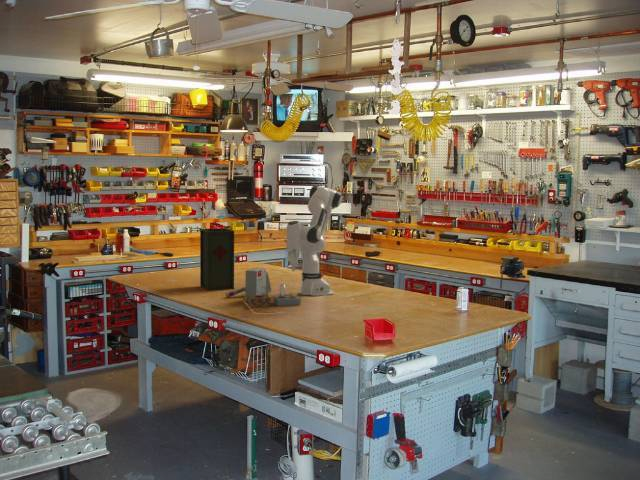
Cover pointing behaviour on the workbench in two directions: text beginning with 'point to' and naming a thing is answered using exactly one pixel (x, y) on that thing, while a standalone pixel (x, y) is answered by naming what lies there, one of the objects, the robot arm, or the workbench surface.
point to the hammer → (268, 288)
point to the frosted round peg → (282, 290)
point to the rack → (259, 301)
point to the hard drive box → (255, 282)
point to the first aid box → (217, 259)
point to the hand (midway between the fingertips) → (293, 270)
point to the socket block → (286, 301)
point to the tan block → (293, 294)
